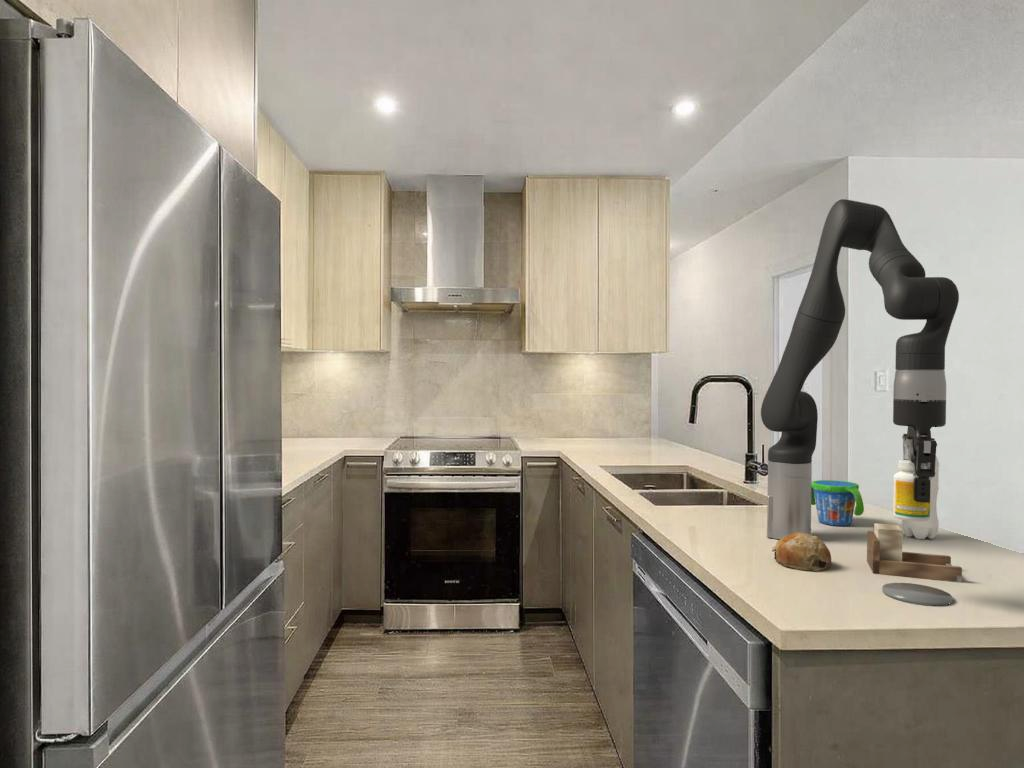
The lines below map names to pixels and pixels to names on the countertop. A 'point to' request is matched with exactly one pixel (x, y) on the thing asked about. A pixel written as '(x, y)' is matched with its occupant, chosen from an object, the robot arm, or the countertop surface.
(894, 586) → the coaster
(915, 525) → the water bottle
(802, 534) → the bread roll
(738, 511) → the countertop surface
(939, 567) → the rack
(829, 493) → the snack cup
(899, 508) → the supplement bottle
